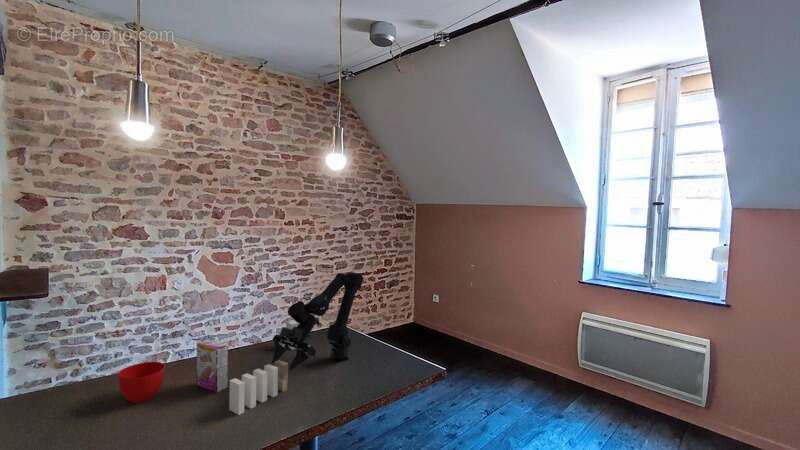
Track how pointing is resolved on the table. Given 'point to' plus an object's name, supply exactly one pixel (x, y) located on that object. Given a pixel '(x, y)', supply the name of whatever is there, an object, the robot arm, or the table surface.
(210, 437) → the table surface
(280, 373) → the domino
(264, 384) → the domino
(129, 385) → the red bowl
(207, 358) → the candy bar box
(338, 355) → the robot arm
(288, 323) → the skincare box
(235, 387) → the domino
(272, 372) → the domino
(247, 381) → the domino
